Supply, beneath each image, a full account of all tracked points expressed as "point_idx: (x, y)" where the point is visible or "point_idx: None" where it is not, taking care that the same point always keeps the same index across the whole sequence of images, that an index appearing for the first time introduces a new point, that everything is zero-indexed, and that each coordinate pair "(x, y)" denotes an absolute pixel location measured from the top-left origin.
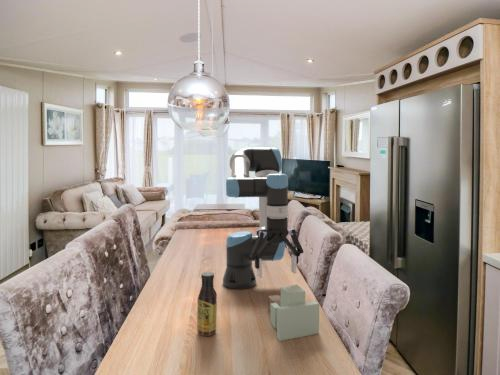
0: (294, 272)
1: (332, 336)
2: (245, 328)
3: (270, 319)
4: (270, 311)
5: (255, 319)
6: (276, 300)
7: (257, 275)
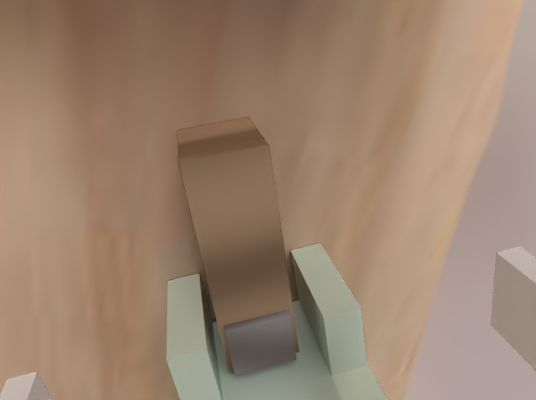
0: (499, 332)
1: (401, 388)
2: (18, 325)
3: (167, 293)
4: (167, 322)
5: (81, 232)
6: (229, 252)
7: (10, 393)
